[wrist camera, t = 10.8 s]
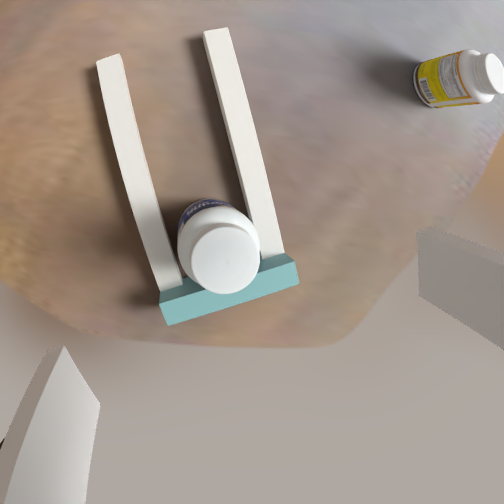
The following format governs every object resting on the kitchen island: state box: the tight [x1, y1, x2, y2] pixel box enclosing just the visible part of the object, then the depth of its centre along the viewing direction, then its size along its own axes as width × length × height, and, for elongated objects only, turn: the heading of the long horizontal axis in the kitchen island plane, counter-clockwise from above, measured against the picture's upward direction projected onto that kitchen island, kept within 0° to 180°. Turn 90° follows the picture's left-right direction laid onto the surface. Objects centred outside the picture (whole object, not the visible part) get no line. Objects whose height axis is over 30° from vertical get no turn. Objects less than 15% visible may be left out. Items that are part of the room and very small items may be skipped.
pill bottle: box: [177, 198, 260, 294], centre depth 23 cm, size 5×5×10 cm
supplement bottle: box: [413, 49, 504, 108], centre depth 23 cm, size 6×6×10 cm
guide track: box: [96, 27, 299, 326], centre depth 24 cm, size 22×11×4 cm, turn 14°
